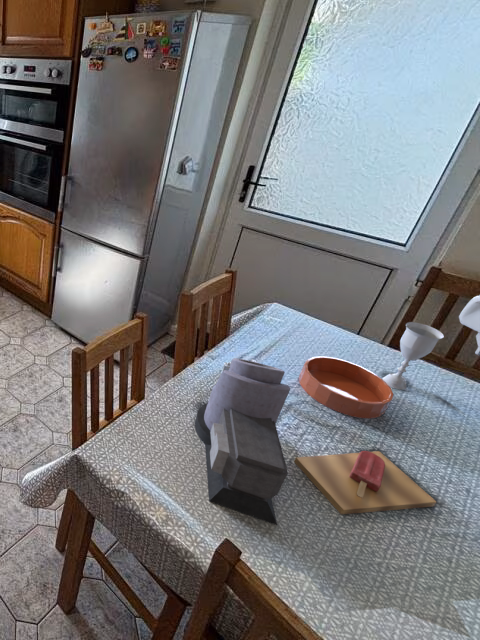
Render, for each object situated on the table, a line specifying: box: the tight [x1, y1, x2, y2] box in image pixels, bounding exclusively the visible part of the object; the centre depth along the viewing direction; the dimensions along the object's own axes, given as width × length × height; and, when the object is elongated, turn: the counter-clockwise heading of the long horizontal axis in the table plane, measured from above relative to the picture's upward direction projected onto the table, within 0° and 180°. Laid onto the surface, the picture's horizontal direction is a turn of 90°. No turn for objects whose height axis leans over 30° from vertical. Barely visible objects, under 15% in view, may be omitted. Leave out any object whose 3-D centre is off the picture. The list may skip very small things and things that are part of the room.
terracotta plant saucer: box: [298, 355, 395, 420], centre depth 110 cm, size 18×18×5 cm
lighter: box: [220, 359, 257, 374], centre depth 115 cm, size 7×2×8 cm, turn 58°
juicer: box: [194, 357, 291, 526], centre depth 89 cm, size 30×16×24 cm, turn 155°
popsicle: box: [349, 450, 385, 498], centre depth 87 cm, size 4×2×15 cm
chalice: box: [381, 321, 444, 391], centre depth 110 cm, size 7×7×18 cm
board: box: [293, 450, 437, 515], centre depth 88 cm, size 20×12×2 cm, turn 94°
